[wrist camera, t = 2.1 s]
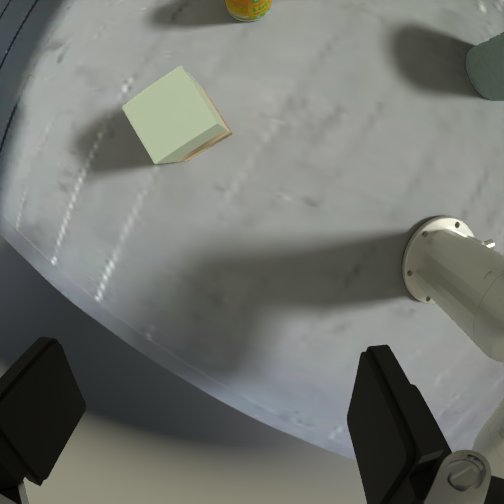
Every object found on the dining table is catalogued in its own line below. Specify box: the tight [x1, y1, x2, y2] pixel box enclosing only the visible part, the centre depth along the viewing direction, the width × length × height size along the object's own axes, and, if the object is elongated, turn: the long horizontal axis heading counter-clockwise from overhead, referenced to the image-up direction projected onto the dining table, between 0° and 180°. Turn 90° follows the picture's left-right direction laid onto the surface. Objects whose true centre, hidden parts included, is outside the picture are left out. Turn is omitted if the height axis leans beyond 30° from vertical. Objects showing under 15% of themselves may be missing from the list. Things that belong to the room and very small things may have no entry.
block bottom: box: [176, 84, 232, 162], centre depth 31 cm, size 6×6×6 cm
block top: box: [122, 66, 227, 164], centre depth 25 cm, size 6×6×6 cm
